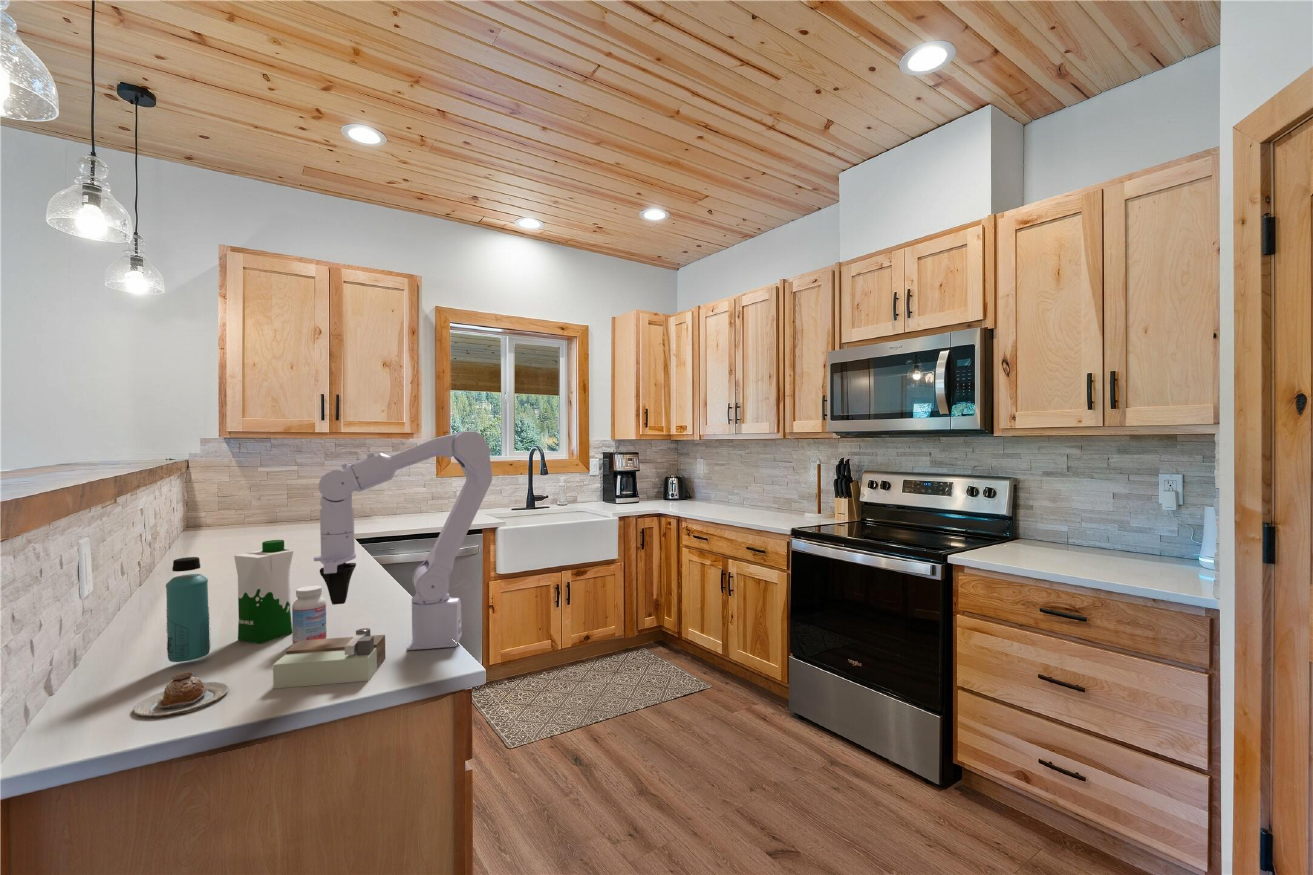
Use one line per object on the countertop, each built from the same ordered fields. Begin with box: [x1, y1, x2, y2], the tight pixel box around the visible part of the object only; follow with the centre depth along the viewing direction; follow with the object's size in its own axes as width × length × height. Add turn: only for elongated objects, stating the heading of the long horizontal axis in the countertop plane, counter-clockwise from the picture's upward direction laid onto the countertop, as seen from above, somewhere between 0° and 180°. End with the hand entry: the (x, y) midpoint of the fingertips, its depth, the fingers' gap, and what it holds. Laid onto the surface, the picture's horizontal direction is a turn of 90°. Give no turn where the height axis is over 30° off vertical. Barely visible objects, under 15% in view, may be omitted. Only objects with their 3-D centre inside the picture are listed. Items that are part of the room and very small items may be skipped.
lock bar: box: [345, 627, 371, 655], centre depth 106 cm, size 9×2×2 cm, turn 10°
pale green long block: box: [272, 635, 378, 689], centre depth 104 cm, size 15×5×6 cm, turn 100°
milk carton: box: [233, 539, 294, 645], centre depth 127 cm, size 9×9×20 cm
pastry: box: [132, 671, 230, 719], centre depth 95 cm, size 12×12×5 cm
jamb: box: [285, 634, 386, 670], centre depth 109 cm, size 15×6×4 cm, turn 100°
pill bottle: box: [291, 585, 328, 646], centre depth 123 cm, size 6×6×11 cm
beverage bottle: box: [165, 556, 212, 663], centre depth 112 cm, size 6×7×20 cm
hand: (338, 603), depth 114 cm, fingers closed
